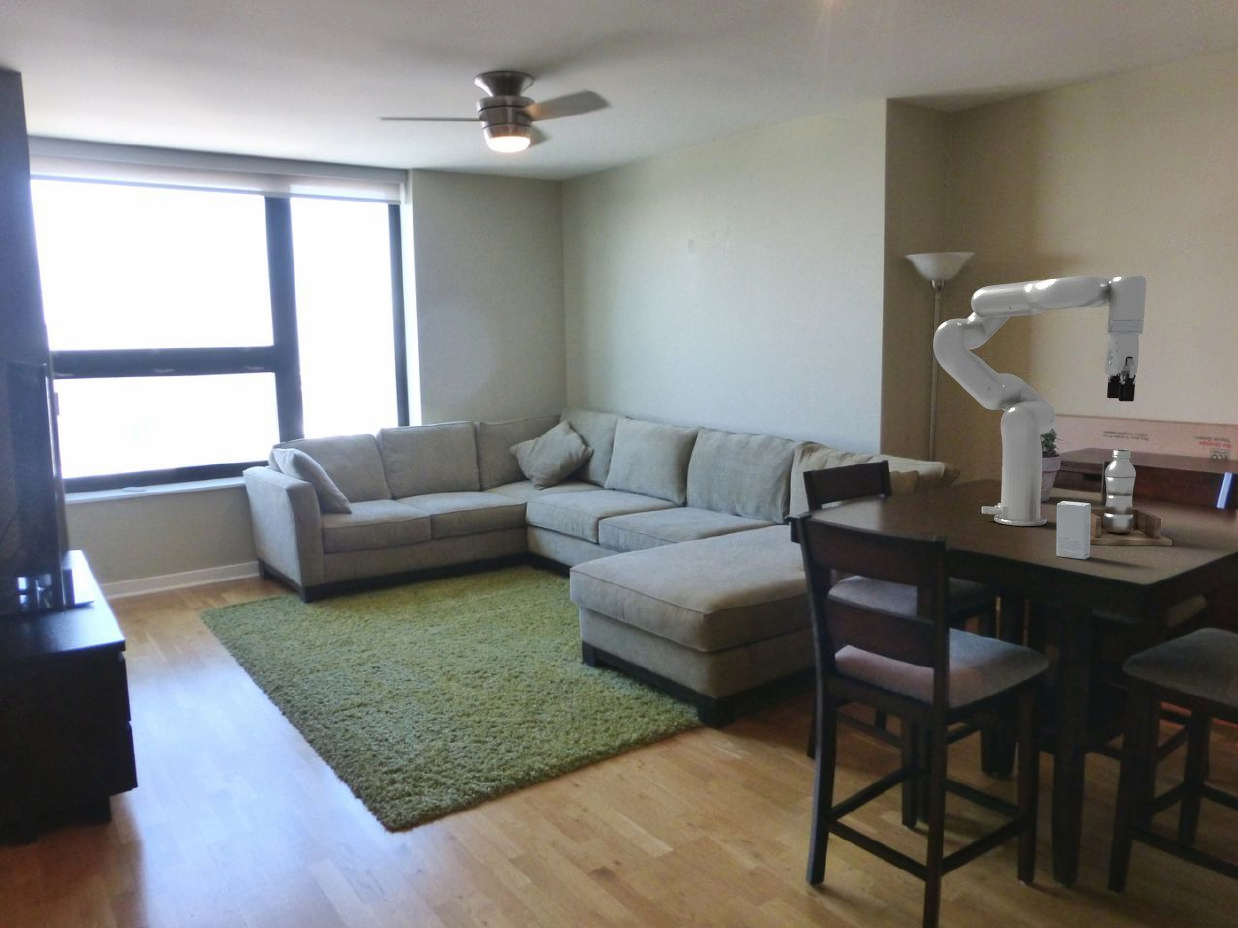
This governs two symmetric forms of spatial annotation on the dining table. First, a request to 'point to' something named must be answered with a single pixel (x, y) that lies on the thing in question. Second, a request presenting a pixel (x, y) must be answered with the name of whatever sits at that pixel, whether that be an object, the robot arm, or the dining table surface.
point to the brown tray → (1141, 534)
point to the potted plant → (1049, 463)
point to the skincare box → (1073, 529)
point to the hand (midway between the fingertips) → (1120, 399)
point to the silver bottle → (1119, 493)
